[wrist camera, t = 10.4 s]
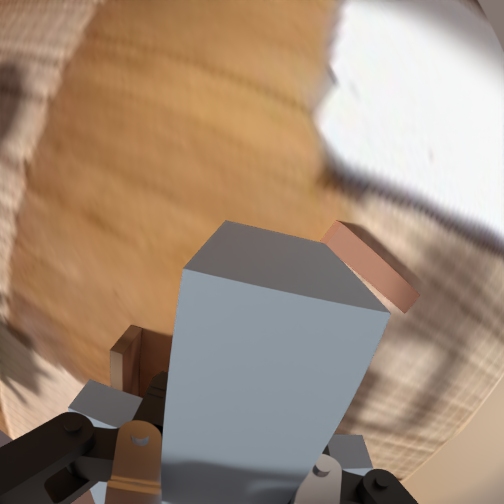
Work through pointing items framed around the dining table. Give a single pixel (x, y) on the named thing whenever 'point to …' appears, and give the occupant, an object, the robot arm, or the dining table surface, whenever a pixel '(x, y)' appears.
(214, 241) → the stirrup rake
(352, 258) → the stick
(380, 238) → the dining table surface
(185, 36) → the dining table surface
